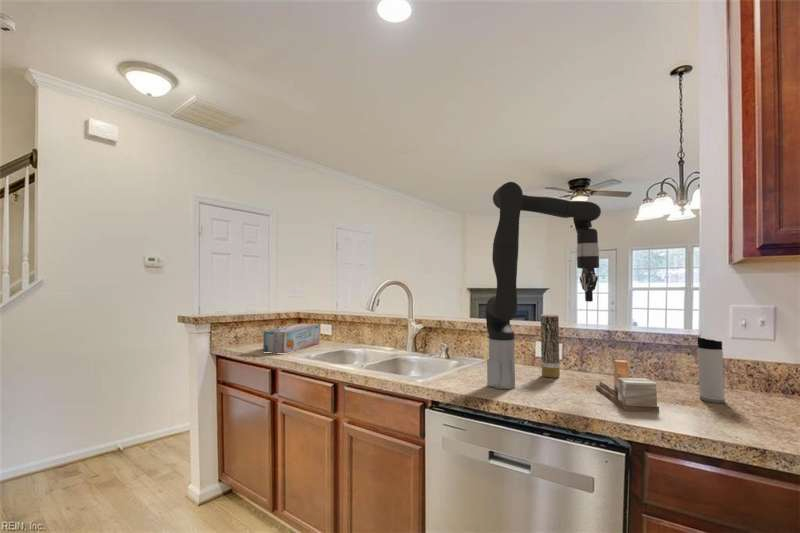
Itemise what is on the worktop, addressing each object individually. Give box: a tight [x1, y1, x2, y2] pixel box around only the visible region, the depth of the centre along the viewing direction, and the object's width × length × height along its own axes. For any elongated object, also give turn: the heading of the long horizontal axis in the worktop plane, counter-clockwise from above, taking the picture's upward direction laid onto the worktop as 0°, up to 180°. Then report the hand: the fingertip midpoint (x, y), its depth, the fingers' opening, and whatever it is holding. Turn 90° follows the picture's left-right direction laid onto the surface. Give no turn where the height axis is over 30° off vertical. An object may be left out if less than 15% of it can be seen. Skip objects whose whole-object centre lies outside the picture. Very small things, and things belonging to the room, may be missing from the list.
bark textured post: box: [540, 313, 561, 379], centre depth 154 cm, size 7×7×25 cm
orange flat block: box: [613, 359, 629, 390], centre depth 120 cm, size 13×3×10 cm, turn 172°
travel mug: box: [697, 337, 726, 404], centre depth 122 cm, size 6×7×20 cm
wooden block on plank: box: [595, 377, 660, 413], centre depth 123 cm, size 24×9×8 cm, turn 172°
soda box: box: [262, 323, 320, 354], centre depth 224 cm, size 41×14×13 cm, turn 165°
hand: (588, 301), depth 143 cm, fingers closed
